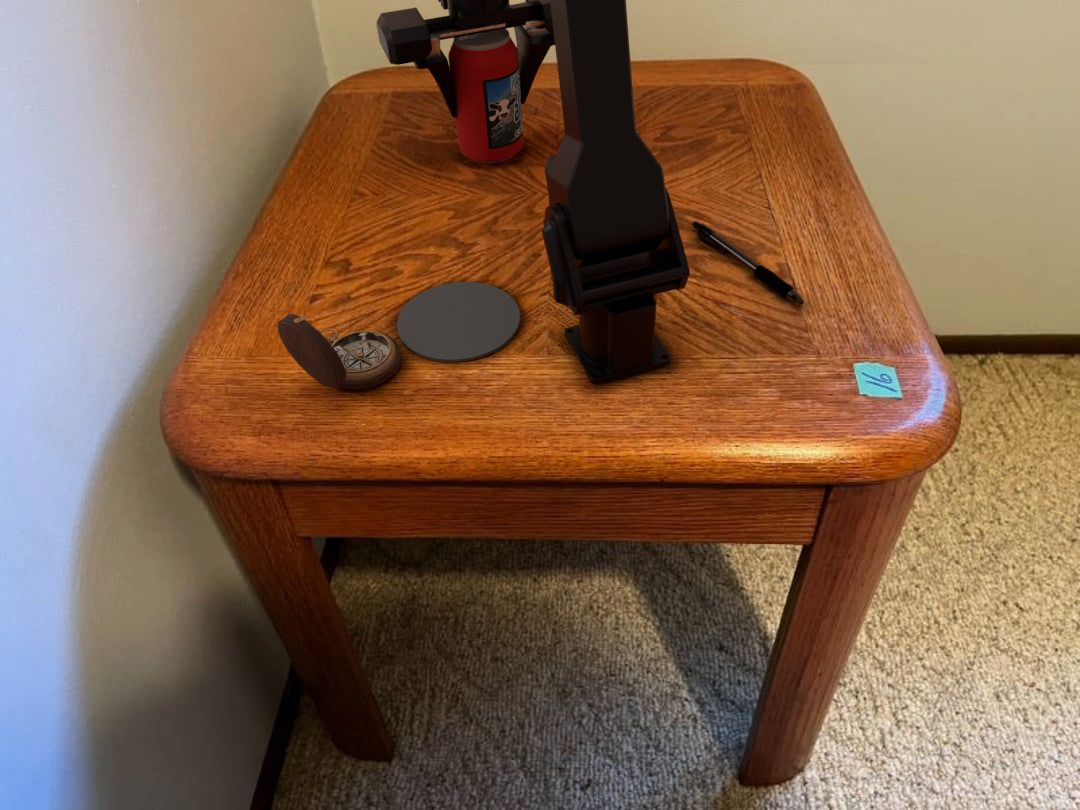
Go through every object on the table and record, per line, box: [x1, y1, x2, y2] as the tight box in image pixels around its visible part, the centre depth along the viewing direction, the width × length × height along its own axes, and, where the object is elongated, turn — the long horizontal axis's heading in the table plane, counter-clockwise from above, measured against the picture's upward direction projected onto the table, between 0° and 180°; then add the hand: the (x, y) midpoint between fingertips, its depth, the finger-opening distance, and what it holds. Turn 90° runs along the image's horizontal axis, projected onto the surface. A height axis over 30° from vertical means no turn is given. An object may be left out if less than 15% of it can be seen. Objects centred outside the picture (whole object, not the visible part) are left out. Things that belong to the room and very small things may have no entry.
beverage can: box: [447, 28, 524, 164], centre depth 85 cm, size 7×7×12 cm
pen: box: [691, 220, 805, 305], centre depth 72 cm, size 14×2×1 cm, turn 30°
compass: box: [277, 312, 403, 390], centre depth 63 cm, size 8×8×7 cm
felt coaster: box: [396, 281, 521, 363], centre depth 69 cm, size 10×10×1 cm
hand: (487, 109), depth 86 cm, fingers closed on beverage can, 7 cm apart
